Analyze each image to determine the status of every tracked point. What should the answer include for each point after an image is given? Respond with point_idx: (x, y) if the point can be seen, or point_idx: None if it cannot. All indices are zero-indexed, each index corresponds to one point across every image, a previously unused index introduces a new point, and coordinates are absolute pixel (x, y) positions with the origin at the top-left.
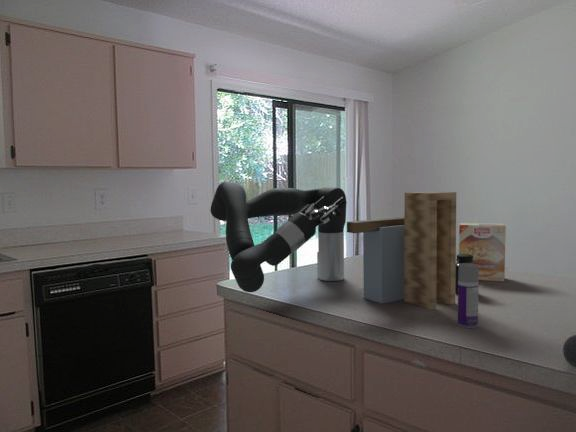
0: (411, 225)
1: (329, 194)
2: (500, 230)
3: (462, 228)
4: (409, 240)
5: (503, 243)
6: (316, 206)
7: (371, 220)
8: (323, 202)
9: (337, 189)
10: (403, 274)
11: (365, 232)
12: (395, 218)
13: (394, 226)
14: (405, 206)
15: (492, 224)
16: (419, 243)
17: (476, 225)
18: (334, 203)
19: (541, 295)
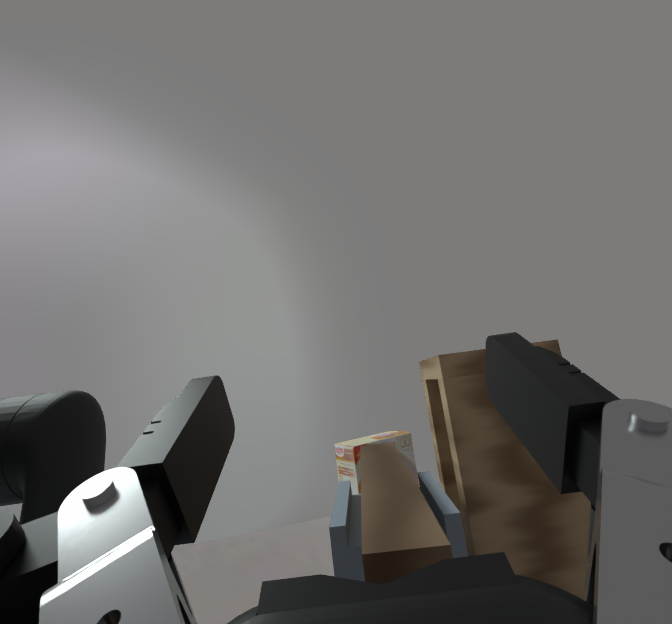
0: (493, 467)
1: (44, 418)
2: (406, 441)
3: (358, 452)
4: (496, 528)
5: (413, 464)
6: (161, 508)
7: (387, 489)
8: (214, 434)
9: (80, 396)
10: None
11: (350, 562)
12: (381, 456)
13: (441, 488)
14: (452, 402)
15: (387, 434)
16: (547, 529)
17: (376, 441)
18: (571, 395)
19: None
